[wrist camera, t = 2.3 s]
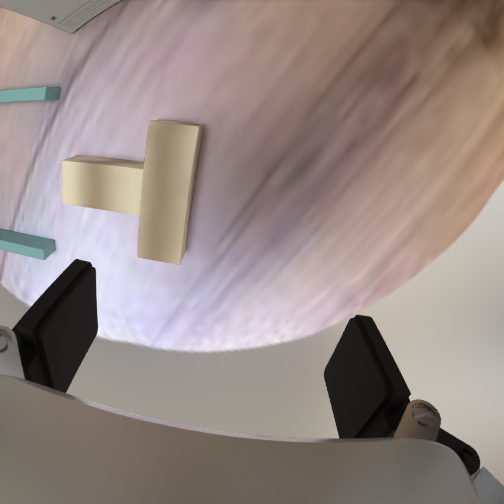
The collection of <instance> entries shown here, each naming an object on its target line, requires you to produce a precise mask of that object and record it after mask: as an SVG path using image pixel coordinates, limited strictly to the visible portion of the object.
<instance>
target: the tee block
mask: <svg viewBox="0 0 504 504" xmlns="http://www.w3.org/2000/svg"><path fill="white" fill-rule="evenodd" d="M203 127H204V125H199V124H191V123H184V122H176V121H167V120H153V121H149V128H148V135H147V143H146V151H145V159H144V162H139V161H131V160H122V159H113V158H103V157H93V156H82V155H77V156H74V157H71V158H68V159H66V160H63V161H62V204H69V205H75V206H82V207H89V208H95V209H102V210H108V211H115V212H121V213H127V214H134V215H139V231H138V253H137V257H139V258H144V259H150V260H155V261H161V262H166V263H172V264H178V265H180V264H181V261H182V259H183V256H184V254H185V251H186V243H187V235H188V227H189V219H190V211H191V204H192V197H193V190H194V183H195V176H196V170H197V163H198V157H199V151H200V145H201V139H202V133H203Z"/></svg>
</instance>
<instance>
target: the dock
mask: <svg viewBox="0 0 504 504" xmlns="http://www.w3.org/2000/svg"><path fill="white" fill-rule="evenodd" d="M59 91H60V87H39V88H26V89H16V90H7V91H0V103H2V102H14V101H29V100H50V99H59ZM0 249H1V250H5V251H9V252H13V253H17V254H21V255H25V256H29V257H33V258H37V259H41V260H45V259H46V258H47V257H48V256H49V255H51V254H52V253H53V252H54V251H55V240H51V239H46V238H41V237H36V236H31V235H27V234H22V233H17V232H12V231H8V230H3V229H0Z"/></svg>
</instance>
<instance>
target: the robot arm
mask: <svg viewBox="0 0 504 504" xmlns="http://www.w3.org/2000/svg"><path fill="white" fill-rule="evenodd" d="M97 331H98V319H97V299H96V269H95V268H94V267H92V264H91V263H90V262H87V261H83V260H79V259H76V260H74V261H73V262H72V263H71V264H70V265H69V266H68V267H67V268H66V269H65V271H64V272H63V273H62V274H61V275H60V276H59V277H58V278H57V279H56V280H55V281H54V282H53V283H52V284H51V285H50V286H49V288H48V289H47V290H46V291H45V292H44V293H43V294H42V295H41V296H40V297H39V299H38V300H37V301H36V302H35V303H34V304H33V305H32V306H31V308H30V309H29V310H28V311H27V312H26V313H25V315H24V316H23V317H22V318H21V320H19V322H18V323H17V324H16V325H15V327H14V328H13V329H12V330H11V329H9V328H8V327H5V326H0V504H504V486H503V485H502V484H501V483H500V482H499V481H498V480H497V479H496V478H495V477H494V476H493V475H492V474H491V473H490V472H489V471H488V470H487V469H486V468H484V467H482V468H481V469H480V468H479V467H480V459H479V456H478V454H477V452H476V451H475V450H474V449H473V448H472V447H471V446H469V445H468V444H466V443H464V442H463V441H461V440H459V439H457V438H456V437H454V436H453V435H451V434H449V433H448V432H446V431H445V430H443V429H441V428H440V424H441V417H440V414H439V412H438V411H437V409H436V408H435V407H434V406H432V405H431V404H430V403H428V402H426V401H424V400H419V399H417V400H413V401H411V402H410V400H409V396H410V395H411V393H410V391H409V389H408V387H407V384H406V383H405V380H404V378H403V376H402V374H401V372H400V371H399V368H398V367H397V364H396V362H395V361H394V358H393V357H392V355H391V353H390V351H389V349H388V347H387V345H386V343H385V341H384V339H383V337H382V335H381V334H380V332H379V330H378V328H377V326H376V324H375V322H374V321H373V319H372V318H371V317H369V316H362V315H356V316H355V317H354V318H351V319H350V320H349V322H348V324H347V326H346V328H345V331H344V332H343V334H342V337H341V339H340V341H339V343H338V344H337V346H336V348H335V351H334V353H333V354H332V356H331V358H330V360H329V362H328V364H327V366H326V368H325V371H324V379H325V383H326V386H327V391H328V394H329V398H330V402H331V406H332V410H333V414H334V418H335V422H336V426H337V430H338V435H339V439H324V438H322V439H321V438H293V437H277V436H264V435H253V434H244V433H235V432H228V431H220V430H213V429H206V428H201V427H195V426H189V425H183V424H178V423H173V422H168V421H164V420H159V419H154V418H150V417H146V416H142V415H137V414H134V413H130V412H126V411H122V410H118V409H115V408H111V407H108V406H104V405H101V404H98V403H95V402H91V401H88V400H84V399H81V398H78V397H75V396H72V395H69V394H66V392H67V390H68V388H69V386H70V384H71V382H72V380H73V378H74V376H75V374H76V372H77V370H78V368H79V366H80V364H81V362H82V361H83V359H84V357H85V355H86V353H87V351H88V349H89V348H90V345H91V344H92V342H93V340H94V338H95V337H96V335H97Z"/></svg>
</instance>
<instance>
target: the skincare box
mask: <svg viewBox="0 0 504 504" xmlns="http://www.w3.org/2000/svg"><path fill="white" fill-rule="evenodd" d="M119 1H121V0H0V7H2V8H5V9H8V10H11V11H13V12H16V13H19V14H22V15H25V16H28V17H30V18H33V19H35V20H38V21H41V22H43V23H46V24H48V25H51V26H53V27H56V28H58V29H61V30H63V31H65V32H68V33H74V32H75V31H76V30H77V29H78V28H80V27H81V26H82V25H83V24H84V23H86V22H87V21H89V20H90V19H92V18H93V17H95V16H96V15H98V14H99V13H101V12H102V11H104V10H105V9H107V8H109V7H110V6H112V5H114V4H115V3H117V2H119Z"/></svg>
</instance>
